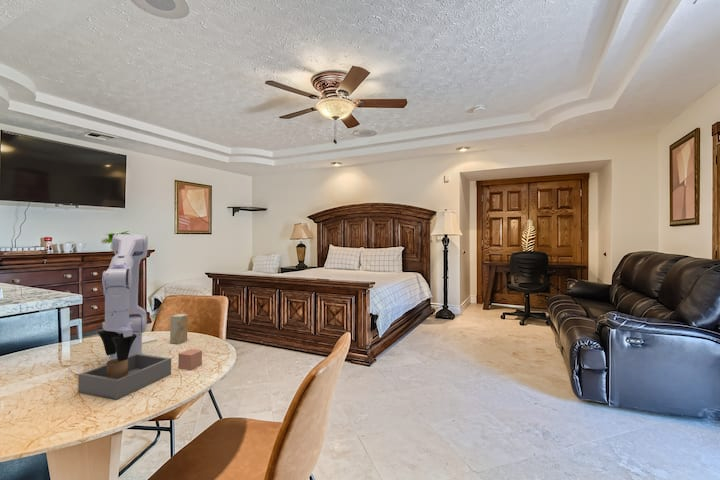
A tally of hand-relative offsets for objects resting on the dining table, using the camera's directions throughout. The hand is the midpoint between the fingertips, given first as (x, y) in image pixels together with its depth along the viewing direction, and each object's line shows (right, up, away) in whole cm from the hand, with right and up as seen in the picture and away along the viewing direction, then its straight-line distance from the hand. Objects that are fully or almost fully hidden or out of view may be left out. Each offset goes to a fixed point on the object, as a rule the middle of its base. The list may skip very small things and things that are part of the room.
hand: (116, 357), depth 99 cm
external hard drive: (-21, -9, +40) cm, 46 cm away
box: (-5, -8, +42) cm, 44 cm away
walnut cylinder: (0, -8, 0) cm, 8 cm away
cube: (+13, -9, +17) cm, 23 cm away
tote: (+1, -9, +3) cm, 9 cm away
